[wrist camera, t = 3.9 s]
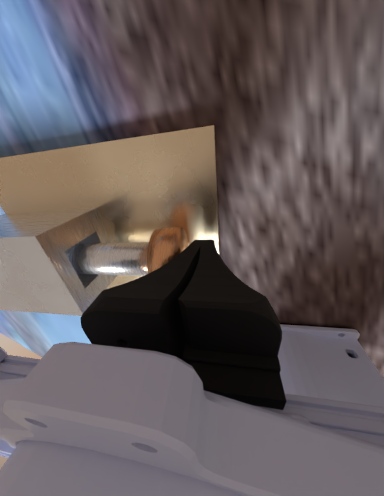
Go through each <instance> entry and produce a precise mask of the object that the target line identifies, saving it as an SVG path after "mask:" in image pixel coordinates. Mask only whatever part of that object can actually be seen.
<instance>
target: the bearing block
mask: <svg viewBox="0 0 384 496" xmlns="http://www.w3.org/2000/svg"><path fill="white" fill-rule="evenodd" d="M0 206H1V207H2V209H3V210H4V212H5V213H6V214H3V215H0V310H10V311H23V312H37V313H51V314H65V315H79V316H82V314H83V313H84V312H85V310H86V309H87V308H88V307H89V306H90V305H91V303H92V302H93V301H94V300H95V299H96V297H97V296H98V295H99V294H100V293H101V292H102V290H105V289H109V288H112V287H115V286H118V285H122V284H125V283H127V282H130V281H133V280H135V279H138V278H140V277H142V276H145V275H109V274H77V273H76V272H75V270H74V268H73V266H72V264H71V263H70V261H69V259H68V257H67V255H66V253H65V251H66V250H68V249H69V248H71V247H72V246H74V245H75V244H87V243H130V242H149V240H150V237H151V235H152V233H153V231H154V230H155V229H157V228H171V227H182V228H184V230H185V232H186V235H187V239H188V246H189V245H190V244H191V243H192V242H193V241H194V240H210V239H213V240H214V241H215V247H216V250H217V252H218V254H219V228H218V201H217V173H216V146H215V126H214V125H212V126H206V127H199V128H192V129H186V130H179V131H173V132H166V133H160V134H153V135H147V136H140V137H133V138H127V139H120V140H114V141H107V142H101V143H94V144H87V145H81V146H74V147H68V148H61V149H55V150H48V151H42V152H35V153H28V154H22V155H15V156H9V157H2V158H0ZM219 256H220V255H219Z"/></svg>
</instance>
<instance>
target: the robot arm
mask: <svg viewBox="0 0 384 496" xmlns="http://www.w3.org/2000/svg"><path fill="white" fill-rule="evenodd" d="M81 326H82V328H83V330H84V332H85V334H86V335H87V337H88V338H89V340H90V342H91V343H92V344H86V343H77V342H68V343H59V344H55V345H53V346H52V347H51V348H50V350H49V351H48V352H47V353H46V354H45V355H44V356H43V358H42V359H41V360H40V359H33V358H26V357H18V356H12V355H7V353H6V352H5V350H3V349H2V348H1V347H0V456H2V457H6V458H8V460H7V461H6V462H5V464H4V465H3V467H2V468H1V470H0V496H384V378H383V377H382V375H381V374H380V372H379V371H378V369H377V368H376V366H375V365H374V364H373V362H372V361H371V359H370V358H369V356H368V355H367V353H366V352H365V351H364V349H363V348H362V346H361V345H360V343H359V342H358V338H359V336H360V334H359V332H358V331H357V330H355V329H344V328H329V327H314V326H299V325H284V324H280V323H279V321H278V318H277V316H276V314H275V312H274V310H273V308H272V306H271V304H270V303H269V301H268V299H267V298H266V297H265V296H263V295H262V294H260V293H258V292H257V291H255V290H253V289H252V288H250V287H249V286H247V285H246V284H244V283H243V282H242V281H241V280H240V279H238V278H237V277H236V276H235V275H234V274H233V273H232V272H231V271H230V270H229V268H228V267H227V266H226V265H225V263H224V262H223V260H222V259H221V257H220V256H219V254H218V252H217V250H216V247H215V241H214V240H213V239H210V240H194V241H193V242H192V243H191V244H190V245H189V246H188V247H187V248H185V249H184V250H183V251H182V252H181V253H180V254H178V255H177V256H176V257H175V258H173V259H172V260H171V261H169V262H168V263H166V264H165V265H163V266H162V267H160V268H158V269H156V270H154V271H152V272H150V273H149V274H147V275H145V276H142V277H140V278H138V279H135V280H133V281H130V282H127V283H125V284H122V285H118V286H115V287H112V288H109V289H105V290H102V292H101V293H100V294H99V295H98V296H97V297H96V299H95V300H94V301H93V302H92V303H91V305H90V306H89V307H88V308H87V309H86V310H85V312H84V313H83V314H82V317H81Z"/></svg>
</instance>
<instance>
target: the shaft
mask: <svg viewBox="0 0 384 496" xmlns="http://www.w3.org/2000/svg"><path fill="white" fill-rule="evenodd" d="M187 247H188V239H187V235H186V232H185V230H184V228H182V227H171V228H157V229H155V230H154V231H153V233H152V235H151V237H150V240H149V242H130V243H87V244H75V245H74V246H72V247H71V248H69V249H68V250H66V251H65V253H66V255H67V257H68V259H69V261H70V263H71V264H72V266H73V268H74V270H75V272H76V273H77V274H109V275H147V274H149V273H150V272H152V271H154V270H156V269H158V268H160V267H162V266H163V265H165V264H166V263H168V262H169V261H171V260H172V259H173V258H175V257H176V256H177V255H178V254H180V253H181V252H182V251H183V250H184V249H185V248H187Z"/></svg>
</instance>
